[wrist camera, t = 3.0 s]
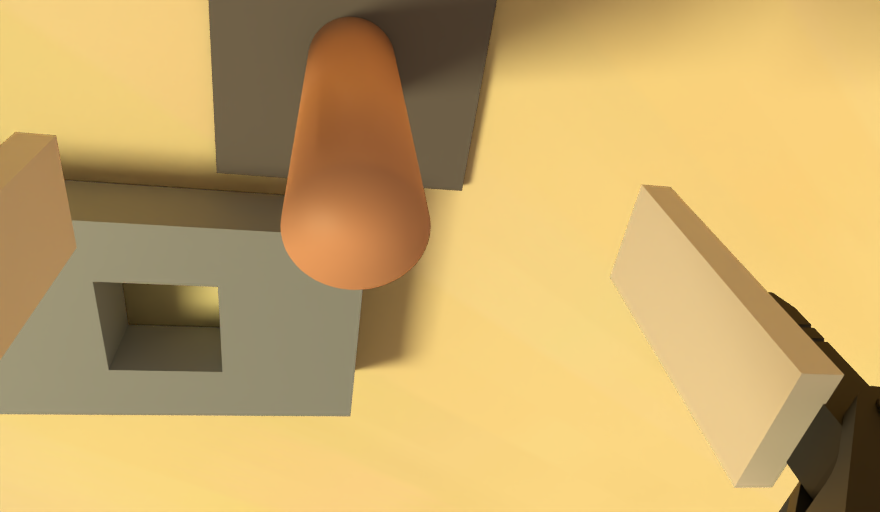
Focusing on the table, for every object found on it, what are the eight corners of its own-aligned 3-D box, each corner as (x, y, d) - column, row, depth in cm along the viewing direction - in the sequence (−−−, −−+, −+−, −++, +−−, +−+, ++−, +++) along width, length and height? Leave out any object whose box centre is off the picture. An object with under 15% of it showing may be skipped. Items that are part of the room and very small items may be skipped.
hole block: (4, 365, 30) (-27, 413, 27) (-54, 171, 24) (-98, 210, 22) (349, 371, 33) (350, 416, 30) (365, 200, 27) (367, 237, 25)
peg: (306, 98, 24) (279, 286, 14) (309, 11, 22) (281, 156, 13) (390, 106, 25) (420, 292, 15) (399, 22, 23) (440, 169, 13)
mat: (218, 168, 26) (216, 172, 25) (205, -116, 20) (203, -115, 20) (460, 186, 28) (461, 190, 27) (506, -70, 22) (509, -68, 22)
